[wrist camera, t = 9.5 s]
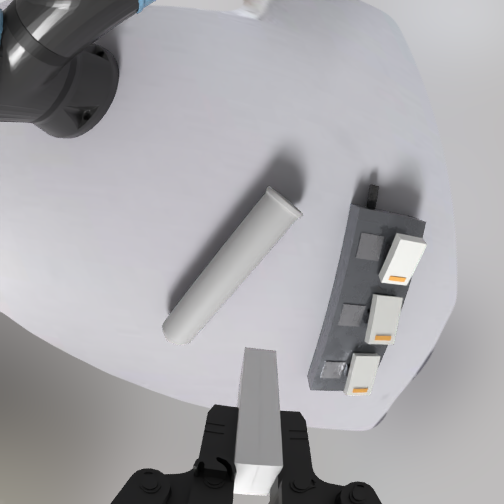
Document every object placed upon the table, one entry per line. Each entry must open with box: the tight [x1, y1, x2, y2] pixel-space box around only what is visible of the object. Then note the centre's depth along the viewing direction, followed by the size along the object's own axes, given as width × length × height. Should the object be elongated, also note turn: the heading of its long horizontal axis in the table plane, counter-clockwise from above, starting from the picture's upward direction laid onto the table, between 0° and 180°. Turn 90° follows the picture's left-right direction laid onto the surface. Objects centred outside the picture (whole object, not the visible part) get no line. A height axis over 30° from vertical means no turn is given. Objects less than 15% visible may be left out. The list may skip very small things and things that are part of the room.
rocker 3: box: [365, 294, 403, 345], centre depth 33 cm, size 6×4×2 cm, turn 172°
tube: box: [162, 186, 303, 345], centre depth 36 cm, size 5×5×25 cm
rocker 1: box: [344, 353, 381, 396], centre depth 36 cm, size 6×4×2 cm, turn 173°
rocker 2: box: [378, 233, 427, 285], centre depth 31 cm, size 6×4×2 cm, turn 172°
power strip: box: [307, 185, 426, 391], centre depth 36 cm, size 31×10×4 cm, turn 172°
